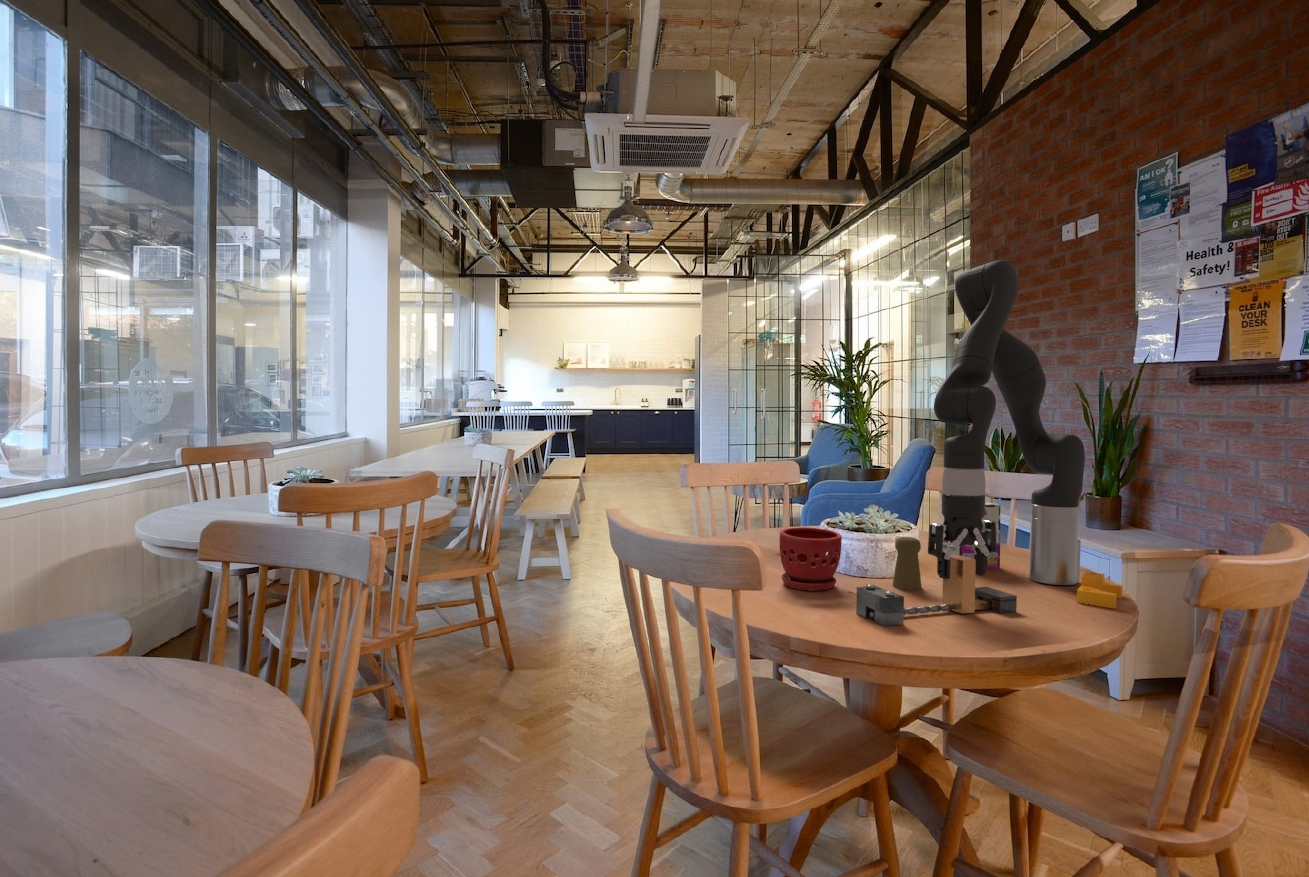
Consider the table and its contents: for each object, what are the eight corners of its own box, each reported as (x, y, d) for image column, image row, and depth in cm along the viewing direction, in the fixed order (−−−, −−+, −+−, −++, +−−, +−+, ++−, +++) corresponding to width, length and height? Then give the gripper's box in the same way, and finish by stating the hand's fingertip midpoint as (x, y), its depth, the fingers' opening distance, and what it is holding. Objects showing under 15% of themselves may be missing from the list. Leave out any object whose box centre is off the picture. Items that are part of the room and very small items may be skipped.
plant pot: (766, 585, 149) (767, 530, 149) (802, 576, 158) (803, 525, 157) (817, 597, 139) (818, 539, 139) (852, 587, 148) (853, 532, 148)
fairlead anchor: (874, 611, 129) (874, 582, 129) (903, 624, 121) (904, 593, 121) (856, 613, 128) (856, 583, 128) (884, 626, 120) (885, 594, 120)
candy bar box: (986, 567, 171) (988, 502, 170) (1000, 571, 166) (1002, 504, 165) (946, 568, 168) (948, 502, 168) (959, 573, 163) (961, 505, 163)
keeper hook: (985, 601, 137) (986, 586, 137) (1016, 611, 130) (1016, 595, 130) (970, 603, 136) (970, 588, 136) (1000, 613, 129) (1000, 597, 129)
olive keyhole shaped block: (917, 585, 151) (918, 535, 151) (925, 591, 145) (926, 540, 145) (889, 584, 152) (890, 534, 151) (896, 590, 146) (897, 539, 145)
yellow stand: (1086, 571, 147) (1122, 576, 143) (1085, 591, 147) (1122, 597, 143) (1077, 581, 138) (1115, 586, 133) (1076, 602, 138) (1115, 608, 134)
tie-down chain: (982, 602, 136) (984, 552, 135) (1003, 609, 131) (1004, 557, 131) (861, 614, 126) (862, 560, 126) (879, 622, 121) (880, 566, 121)
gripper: (977, 488, 136) (975, 569, 136) (919, 491, 131) (917, 575, 131) (1008, 492, 129) (1006, 578, 129) (948, 495, 124) (946, 584, 124)
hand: (962, 576), depth 130 cm, fingers open, 8 cm apart
